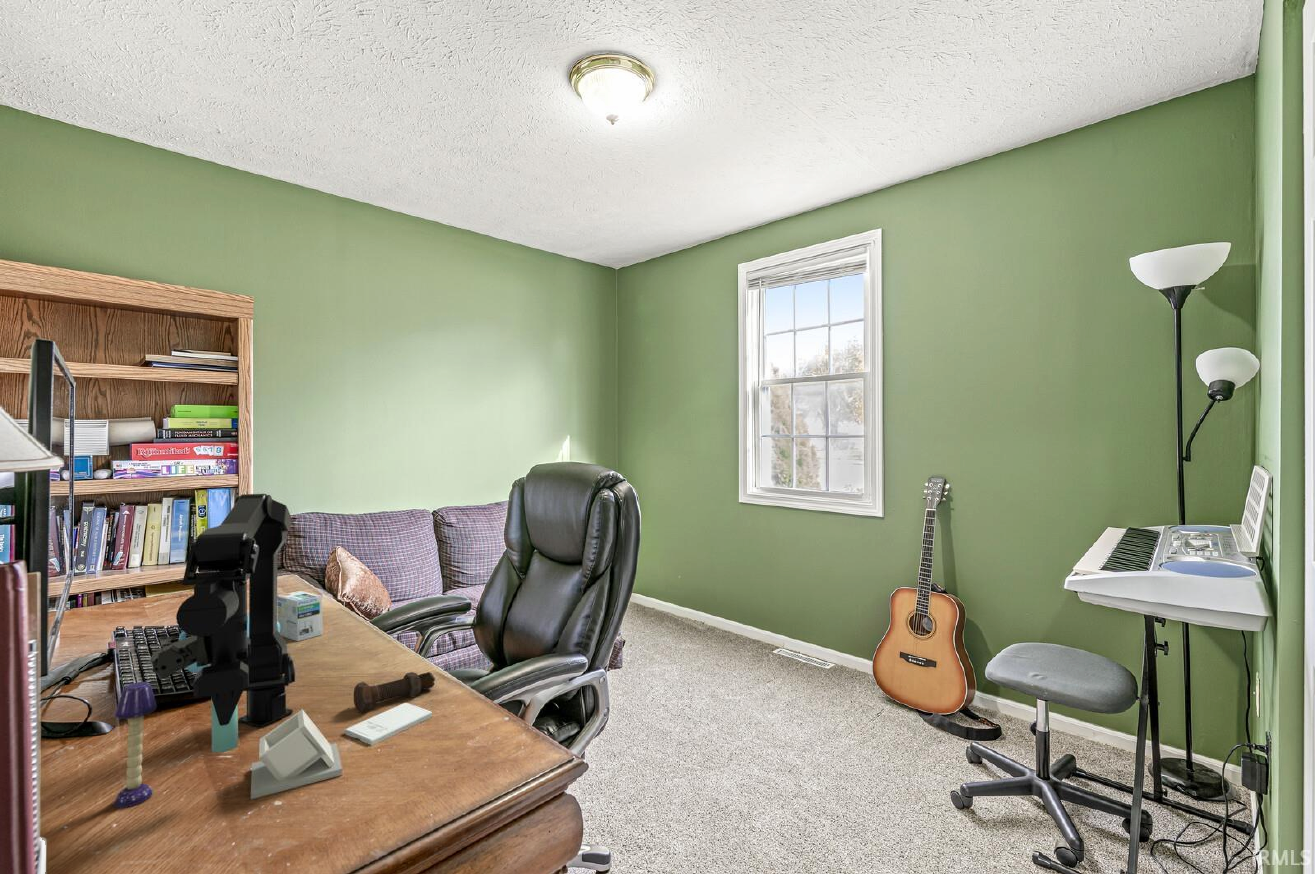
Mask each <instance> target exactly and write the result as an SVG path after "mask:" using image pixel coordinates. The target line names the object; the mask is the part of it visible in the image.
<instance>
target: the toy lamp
mask: <svg viewBox="0 0 1315 874" xmlns="http://www.w3.org/2000/svg"><path fill="white" fill-rule="evenodd" d="M157 707H158V706H157V701H156V698H155V695H154V691H153V689H152V686H151V684H150V682H148V681H140V682H134V683H130V684H129V685H126V686H125V687H124V688H123V690H122V693H121V695H120V698H119V702H118V704H117V707H116V710H115V717H116V718H117V719H121V720H122V719H125V720H127V723H128V726H127V734H128V737H127V740H126V741H127V742H126V743H127V745H128V746H127V749H126V755H127V758H126V766H127V768H126V773H125V774H126V778H127V779H126V781H125V786H126V787H124V788H123V789H122V790H120V792H119V793H117V796H116V797H115V799H114V803H113V805H114V806H115V807H117V808H127V807H131V806H135V805H138V804H141V803H143V802H145V801H147V800H148V799H150V798H151V797H152V795H153V790H152V788H151V786H150V785H148V784H147V783H142V780H143V777H142V775H141V774H142V772H143V766H142V763H143V754H142V753H143V749H144V746H143V743H142V742H143V739H144V734H143V731H144V724H143V721H144V717H145V716H147V715H149V714H151V713H153V712H154V711H155V710H156V709H157Z"/></svg>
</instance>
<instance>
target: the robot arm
mask: <svg viewBox="0 0 1315 874" xmlns="http://www.w3.org/2000/svg"><path fill="white" fill-rule="evenodd" d="M291 520H292V519H291V513H290V511H289V509H288V507H287V505H286V504H284V503H281V502H279V501H277V500H275V499H273V497H272V496H271V494H266V493H246V494H245V493H244V494H240V495H237V496H236V497H235V501H234V505H233V507H232V508H231V510H230V511H229V512H228V513H227V514H226V517H225V518H223V521H222V522H221V523H220V525H218V526H217V525H216V526H214V527H210V528H207V529H204V530H203V531H202V532H201V533H199V534H198V535H197V537H196V538H195V541H193V542H191V544H190V549H189V553H188V557H187V560H186V565H185V570H184V574H183V579H182V586H194V587H193V594H191V595H190V596H189V597H188V598H186V599H185V600H184V601H182V603H181V604H180V606H179V607H178V610H177V612H176V616H175V617H176V618H175V619H176V623H177V625H178V627H179V629H180V630H182V632H183V631H184V632H185V633H187V634H186V635H190V636H188V637H185V639H183V640H180V641H179V640H178V641H176V642H174V643H171V644H169V645H167V646H164V647H163V648H160V649H158V650H156V651H154V652H153V654H152V655H151V658H150V659H149V660H150V663H151V665H152V672H153V673H156V675H157V676H158V679H159V680H164V679H167V678H168V677H171V676H172V674H174V673H176V672H179V671H181V670H183V669H185V668H187V666H190V665H192V664H194V663H195V662H197V667H200V666H206V665H208V664H209V666H207V667H203V668H202V669H201V670H200V671H199V672H198V673H197V674H196V676H195V677H194V679H193V683H192V684H193V685H192V687H193V697H196V698H200V697H201V698H202V697H205V696H210V699H211V698H212V701H213V704H214V708H215V711H216V714H217V718H218V721H219V724H220V726H223V725H227V724H229V722H230V720H231V718H232V715H233V713H234V711H235V708H236V706H237V707H238V704H239V702H240V699H241V697H242V694H243V693H244V692H245V693H246V715H243V716H241V717H238V722H239V723H243V724H247V725H251V726H255V727H259V728H262V727H266V726H267V725H269V724H272V723H274V722H275V721H278V720H281V719H282V718H284V717H287V716H289V715H291V714H293V713H294V711H293V709H292V708H291V709H290V708H287V694H286V687H288V686H289V685H290V684H292V683H294V682H296V669H295V663H294V660H293V658H292V657H291V654H290V652H288V644H287V643H288V642H287V641H286V640H285V637H283V636H281V634H280V633H279V632H278V631H277V621H278V613H277V595H278V553H279V551H280V550H281V548H282V547H283V546H284V544H285V543H286V541H287V539H288V532H290V530H291V525H292V523H291V522H292V521H291ZM248 580H249V583H248V582H247V581H248ZM248 585H249V586H248ZM248 591H249V593H248ZM248 595H249V596H248ZM248 598H249V599H248ZM248 605H249V606H248ZM247 615H249V638H248V637H247V624H248V616H247Z"/></svg>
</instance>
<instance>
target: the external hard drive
mask: <svg viewBox="0 0 1315 874" xmlns="http://www.w3.org/2000/svg"><path fill="white" fill-rule="evenodd" d="M432 717H433V713H432V711H430V710H428V709H425V708H422V707H420V706H417V705H414V704H411V703H408V702H404V703H401V704H398V705H397V706H394V707H392V708H390V709H388V710H386V711H383V712H381V713H379V714H376V715H374V716H371V717H370V718H368V719H365V720H363V721H361V722H358V723H356V724H354V725H351V726H349V727H348V728H347V727H346V728H345V729H343V730H344V731H343V734H344V735H346V736H348V737H351V738H353V739H358V740H360V741H361V742H363V743H364V744H367V743H368V744H367V745H370V746H374V745H376V744H378V743H380V742H382V741H384V740H387V739H388V738H391V737H393V736H394V735H397V734H399V732H400V733H402V732H403V730H404V731H406V730H408V729H410V728H413V727H414V726H416V725H418V724H421V723H423V722H425V721H427V720H430V719H431V718H432ZM420 722H421V723H420ZM401 731H402V732H401Z"/></svg>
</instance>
